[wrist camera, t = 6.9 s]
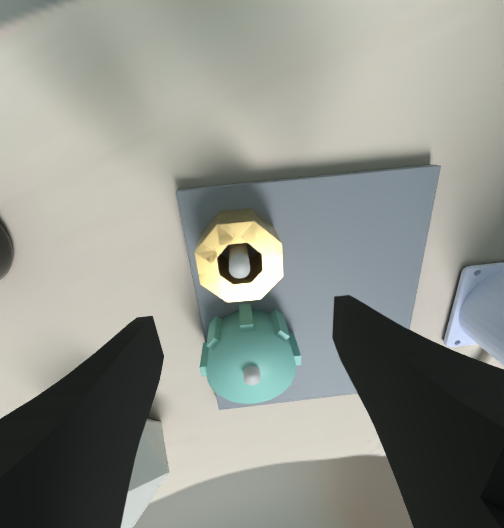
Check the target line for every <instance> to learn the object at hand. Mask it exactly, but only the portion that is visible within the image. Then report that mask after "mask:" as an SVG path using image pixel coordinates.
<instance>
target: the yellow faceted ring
mask: <svg viewBox="0 0 504 528" xmlns="http://www.w3.org/2000/svg"><path fill="white" fill-rule="evenodd" d="M239 243H249V244H250V245H251V246H252V247H254V248H255V249H256V250H258V251H257V253H256V254H255V255H254V256H253V257H252V258H251V259H250V260H249V263H250V272H249V274H248V275H247V276H246V277H244V278H235V277H233V276H232V275H231V274H230V272H229V260H228V259H227V258H225V257H224V256H223V255H221V253H222V251H223V250H224V249H225V248H226V247H227V246H228V245H229V244H239ZM194 253H195V258H196V264H197V269H198V274H199V280H200V284H201V285H202V286H204V287H205V288H207V289H208V290H210V291H211V292H213V293H214V294H216V295H217V296H219V297H220V298H222V299H223V300H225V301H226V302H237V301H247V300H256V299H261V298H262V297H263V296H264V295H265V294H266V293H267V292H268V291H269V290H270V289H271V288H272V287H273V286H274V285H275V284H276V283H277V282H278V281H279V280H280V279H281V278H282V277H283V257H282V243H281V240H280V238H279V236H278V234H277V232H276V230H275V228H274V227H273V226H272V225H271V224H270V223H268V222H267V221H266V220H265V219H264V218H262V217H261V216H260V215H259V214H257V213H256V212H255V211H254V210H253V209H251V208H246V209H236V210H225V211H219V212H218V213H217V215H216V216H215V217H214V218H213V220H212V221H211V222H210V223H209V225H208V226H207V227H206V228H205V230H204V231H203V232H202V233H201V235H200V237H199V240H198V243H197V246H196V249H195V252H194Z"/></svg>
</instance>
